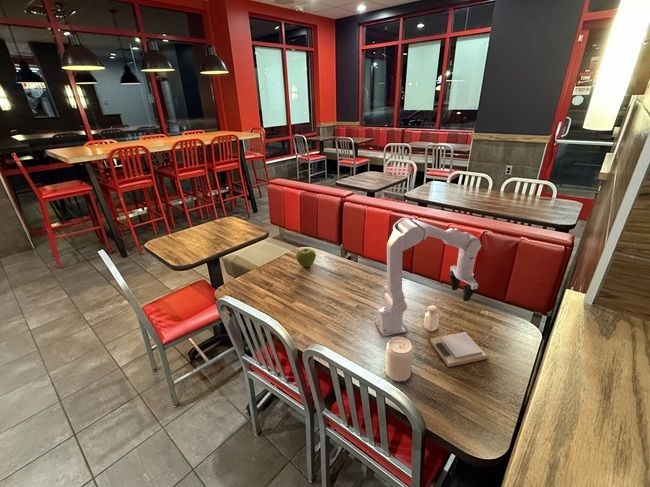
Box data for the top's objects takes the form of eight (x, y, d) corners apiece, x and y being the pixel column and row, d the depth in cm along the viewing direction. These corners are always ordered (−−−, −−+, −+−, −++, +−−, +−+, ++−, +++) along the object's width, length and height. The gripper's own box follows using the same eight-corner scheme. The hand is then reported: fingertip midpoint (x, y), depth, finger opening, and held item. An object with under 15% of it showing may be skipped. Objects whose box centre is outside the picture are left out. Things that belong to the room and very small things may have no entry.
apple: (294, 270, 166) (293, 253, 162) (299, 260, 176) (297, 244, 171) (314, 270, 164) (313, 254, 160) (318, 261, 174) (317, 245, 170)
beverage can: (382, 364, 105) (383, 336, 100) (406, 361, 106) (408, 334, 101) (389, 384, 98) (390, 355, 93) (414, 381, 98) (417, 352, 93)
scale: (448, 367, 103) (449, 361, 102) (430, 342, 114) (430, 336, 112) (485, 359, 105) (487, 353, 104) (464, 335, 116) (465, 329, 115)
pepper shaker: (430, 332, 118) (432, 312, 114) (422, 326, 121) (425, 306, 117) (438, 329, 120) (440, 309, 116) (430, 323, 123) (432, 303, 119)
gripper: (487, 272, 110) (481, 304, 116) (463, 254, 123) (458, 283, 129) (470, 275, 109) (464, 307, 115) (447, 257, 122) (443, 286, 128)
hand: (460, 294), depth 122 cm, fingers open, 7 cm apart
